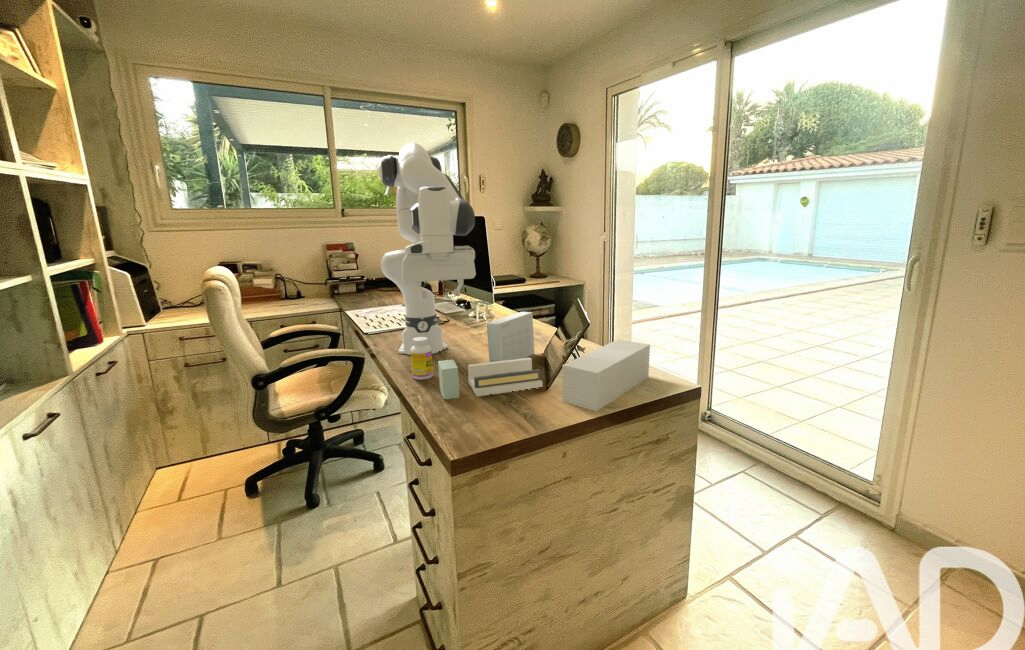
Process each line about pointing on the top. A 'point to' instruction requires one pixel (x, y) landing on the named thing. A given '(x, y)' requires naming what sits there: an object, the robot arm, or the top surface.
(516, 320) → the skincare box
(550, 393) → the top surface
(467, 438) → the top surface
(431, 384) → the top surface
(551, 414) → the top surface
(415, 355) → the supplement bottle
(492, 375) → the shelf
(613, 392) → the stack of papers
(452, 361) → the product box
